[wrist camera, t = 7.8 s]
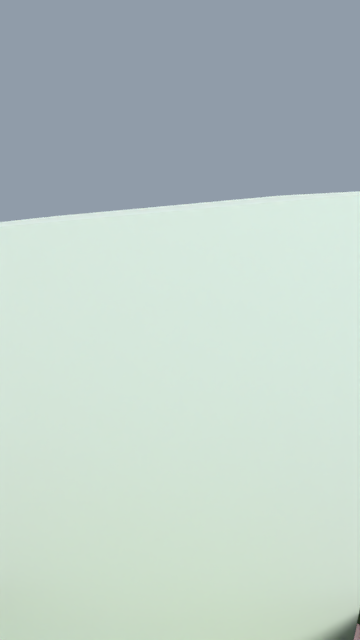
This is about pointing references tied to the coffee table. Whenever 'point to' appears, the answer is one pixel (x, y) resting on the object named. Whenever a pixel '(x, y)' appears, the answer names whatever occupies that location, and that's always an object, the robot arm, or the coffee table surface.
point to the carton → (182, 422)
